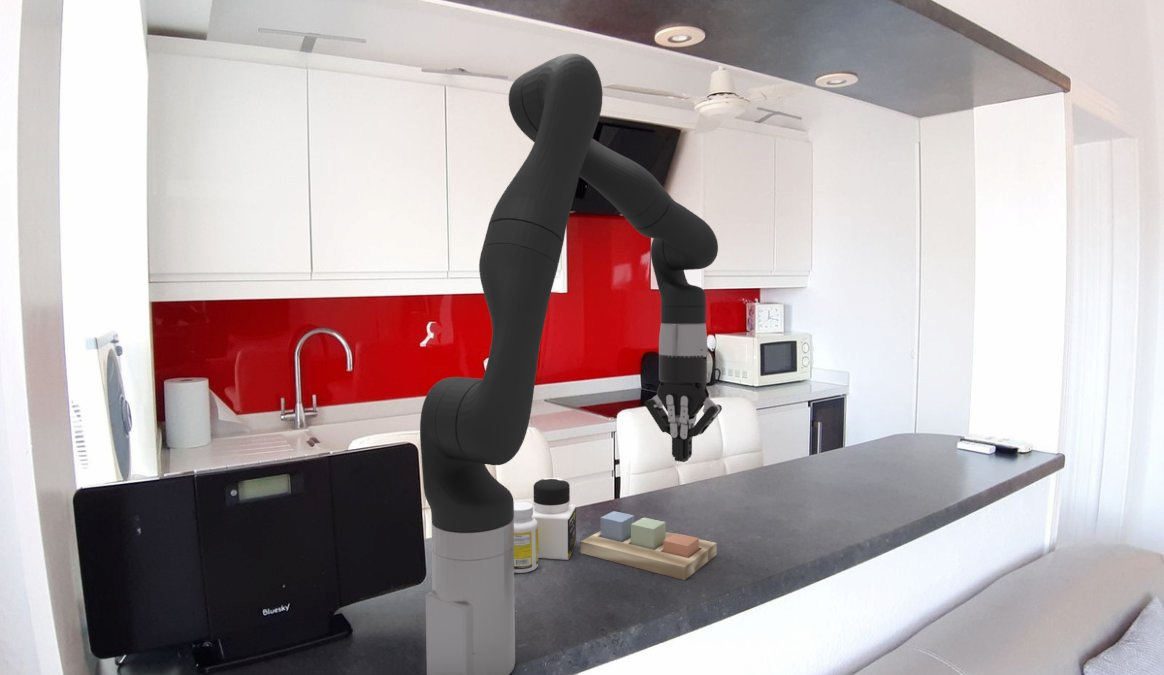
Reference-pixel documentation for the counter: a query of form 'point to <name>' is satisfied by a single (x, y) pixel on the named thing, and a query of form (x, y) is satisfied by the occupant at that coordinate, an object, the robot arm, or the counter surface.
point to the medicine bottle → (554, 519)
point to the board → (649, 556)
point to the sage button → (648, 533)
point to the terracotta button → (681, 545)
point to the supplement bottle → (525, 538)
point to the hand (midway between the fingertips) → (681, 460)
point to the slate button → (616, 526)
